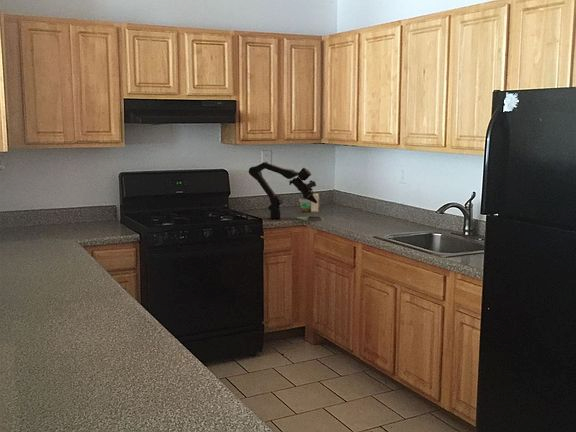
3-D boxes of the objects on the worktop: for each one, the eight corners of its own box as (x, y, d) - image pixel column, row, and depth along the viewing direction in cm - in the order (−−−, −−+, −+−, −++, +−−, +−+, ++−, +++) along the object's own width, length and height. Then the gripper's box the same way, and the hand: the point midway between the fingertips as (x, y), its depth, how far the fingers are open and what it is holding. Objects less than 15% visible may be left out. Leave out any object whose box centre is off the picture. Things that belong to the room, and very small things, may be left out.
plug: (311, 212, 428) (311, 194, 426) (311, 211, 432) (311, 193, 430) (319, 213, 428) (319, 194, 426) (319, 211, 432) (319, 193, 430)
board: (306, 222, 423) (306, 219, 422) (296, 218, 438) (296, 215, 437) (326, 221, 428) (326, 218, 427) (315, 217, 443) (315, 214, 443)
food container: (296, 213, 461) (297, 198, 459) (299, 211, 467) (299, 197, 465) (313, 214, 457) (314, 199, 456) (316, 212, 463) (316, 198, 462)
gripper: (308, 178, 417) (325, 195, 418) (309, 175, 436) (325, 192, 437) (296, 190, 419) (313, 207, 420) (297, 186, 437) (313, 203, 439)
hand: (316, 202), depth 429 cm, fingers closed on plug, 4 cm apart
